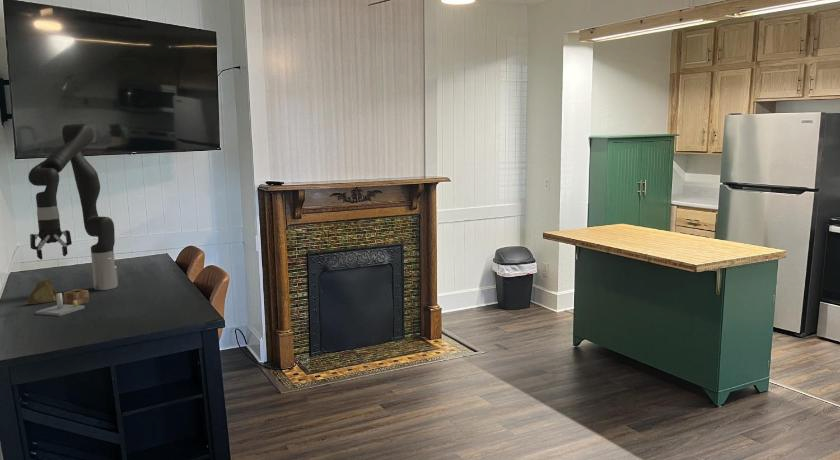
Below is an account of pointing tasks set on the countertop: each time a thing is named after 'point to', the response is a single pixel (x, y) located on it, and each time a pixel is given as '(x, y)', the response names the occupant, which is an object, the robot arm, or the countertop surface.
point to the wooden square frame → (76, 297)
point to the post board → (59, 311)
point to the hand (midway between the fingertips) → (52, 257)
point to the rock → (43, 293)
